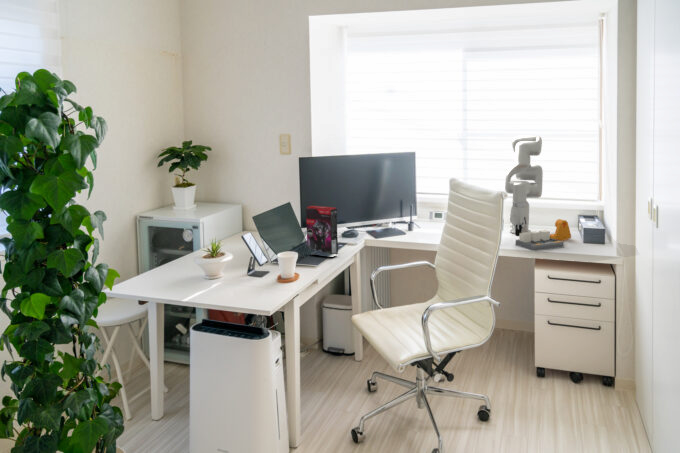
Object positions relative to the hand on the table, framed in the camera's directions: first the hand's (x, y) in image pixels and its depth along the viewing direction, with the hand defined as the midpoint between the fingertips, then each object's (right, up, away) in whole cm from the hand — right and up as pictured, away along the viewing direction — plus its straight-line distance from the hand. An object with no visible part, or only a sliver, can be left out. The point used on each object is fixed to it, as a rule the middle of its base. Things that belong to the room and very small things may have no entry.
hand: (518, 235), depth 360 cm
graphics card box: (-113, -11, -18) cm, 115 cm away
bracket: (+27, -2, +10) cm, 29 cm away
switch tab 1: (+2, -3, -5) cm, 7 cm away
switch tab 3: (+15, -2, 0) cm, 15 cm away
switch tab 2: (+8, -3, -3) cm, 9 cm away
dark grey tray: (+10, -6, -6) cm, 13 cm away
